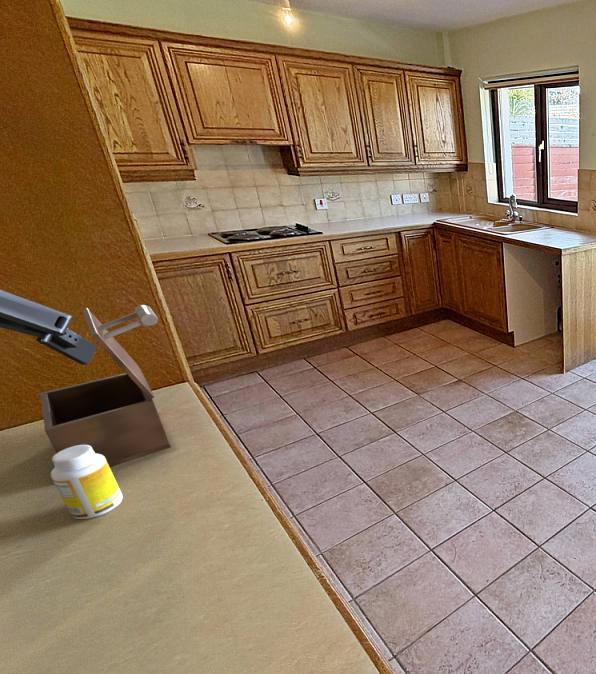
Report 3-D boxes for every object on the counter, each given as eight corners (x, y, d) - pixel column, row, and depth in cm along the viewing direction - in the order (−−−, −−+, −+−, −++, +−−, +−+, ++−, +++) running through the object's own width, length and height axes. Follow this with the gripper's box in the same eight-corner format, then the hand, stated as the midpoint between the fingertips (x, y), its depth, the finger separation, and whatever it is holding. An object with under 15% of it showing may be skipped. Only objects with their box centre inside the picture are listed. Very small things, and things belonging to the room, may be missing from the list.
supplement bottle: (129, 490, 75) (105, 437, 71) (116, 514, 71) (90, 459, 66) (81, 500, 73) (54, 446, 69) (64, 526, 68) (34, 469, 64)
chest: (70, 480, 76) (44, 430, 72) (62, 439, 86) (40, 393, 82) (171, 447, 85) (153, 400, 81) (154, 413, 94) (137, 369, 91)
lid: (92, 336, 73) (152, 312, 78) (82, 309, 82) (136, 289, 87) (150, 399, 81) (202, 374, 85) (134, 369, 90) (182, 347, 95)
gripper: (-397, 284, 40) (-102, 385, 58) (-51, 284, 43) (125, 380, 61) (-319, 218, 43) (-64, 333, 62) (-6, 222, 47) (148, 330, 65)
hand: (31, 356), depth 62 cm, fingers open, 13 cm apart
